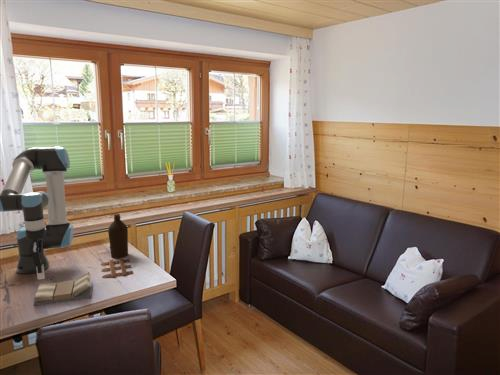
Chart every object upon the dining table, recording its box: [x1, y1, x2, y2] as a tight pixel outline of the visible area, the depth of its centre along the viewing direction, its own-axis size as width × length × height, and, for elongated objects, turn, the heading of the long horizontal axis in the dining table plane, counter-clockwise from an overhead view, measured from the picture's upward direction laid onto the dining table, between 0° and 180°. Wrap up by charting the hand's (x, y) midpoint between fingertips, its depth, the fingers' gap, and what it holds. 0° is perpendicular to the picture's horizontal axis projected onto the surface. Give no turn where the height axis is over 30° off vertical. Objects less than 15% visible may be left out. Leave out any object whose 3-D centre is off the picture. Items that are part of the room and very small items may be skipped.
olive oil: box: [107, 212, 129, 259], centre depth 223 cm, size 11×11×25 cm
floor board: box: [33, 280, 94, 307], centre depth 176 cm, size 14×23×4 cm, turn 109°
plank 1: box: [33, 282, 58, 302], centre depth 174 cm, size 14×7×2 cm, turn 19°
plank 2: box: [72, 271, 92, 296], centre depth 178 cm, size 14×7×2 cm
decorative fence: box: [100, 257, 134, 279], centre depth 206 cm, size 23×2×15 cm
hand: (41, 278), depth 172 cm, fingers closed
